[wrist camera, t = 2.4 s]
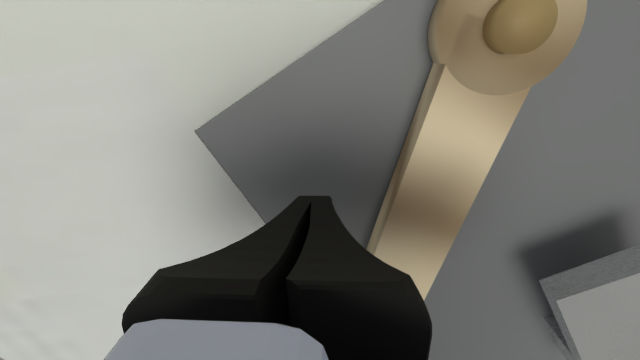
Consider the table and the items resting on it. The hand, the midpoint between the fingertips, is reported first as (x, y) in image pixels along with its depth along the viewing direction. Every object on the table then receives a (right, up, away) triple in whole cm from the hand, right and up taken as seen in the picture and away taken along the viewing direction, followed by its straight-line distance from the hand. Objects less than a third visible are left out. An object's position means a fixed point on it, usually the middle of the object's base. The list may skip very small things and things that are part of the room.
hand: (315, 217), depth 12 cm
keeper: (+14, -4, +4) cm, 15 cm away
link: (+5, +2, +2) cm, 6 cm away
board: (+9, -1, +4) cm, 10 cm away
